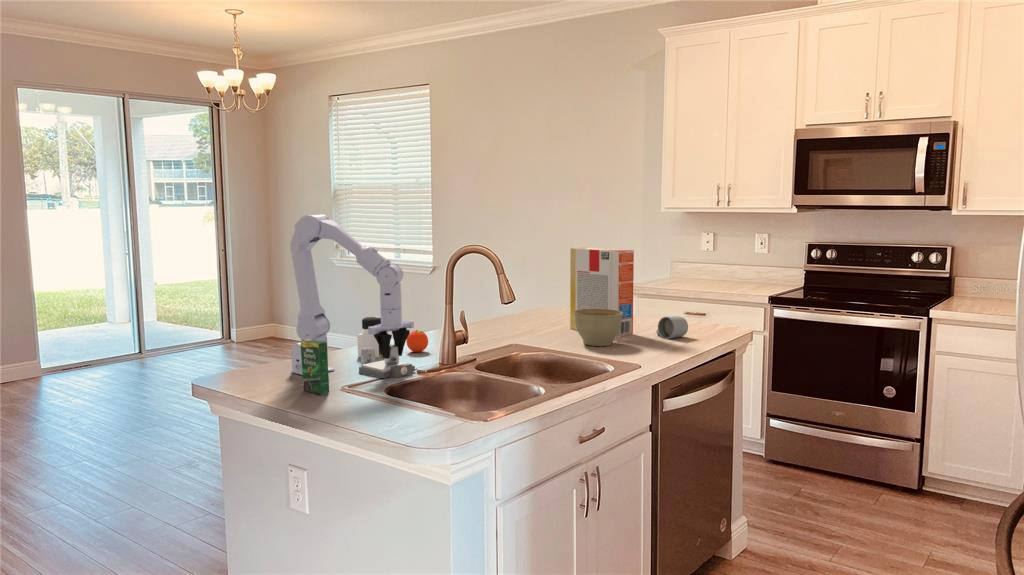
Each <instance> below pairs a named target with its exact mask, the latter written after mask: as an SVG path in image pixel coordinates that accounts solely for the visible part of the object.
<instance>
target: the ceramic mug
mask: <svg viewBox="0 0 1024 575" xmlns="http://www.w3.org/2000/svg"><path fill="white" fill-rule="evenodd" d="M688 330H689V324H688V322H687V320H686V318H684V317H682V316H678V315H677V316H668V315H667V316H662V318H660V319H659V321H658V324H657V329H656V331H655V332H656V334H657V336H660V337H661V338H662V339H665V340H669V339H670V340H671V339H677V338H681V337H683V336H685V335H686V334H687V333H688Z"/></svg>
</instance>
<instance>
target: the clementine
mask: <svg viewBox="0 0 1024 575" xmlns="http://www.w3.org/2000/svg"><path fill="white" fill-rule="evenodd" d="M426 333H427V334H429V332H428V331H426V330H420V329H419V330H418V329H416V330H413V331H411V332H410V334H409V335H408V337H407V339H406V342H405V343H406V346H407V348H408V349H409V350H410V351H412V352H413V353H421V352H423V351H425V350H426V349H427V347H428V345H429V337H428V335H427V334H426Z"/></svg>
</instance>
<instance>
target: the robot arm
mask: <svg viewBox="0 0 1024 575" xmlns="http://www.w3.org/2000/svg"><path fill="white" fill-rule="evenodd" d="M322 239H325V240H332V241H334V242H335V243H337V245H339V246H341V247H343V248H344V249H345V250H347V251H348V252H350V253H351V254H352V255H354V256H355V259H356V263H357V264H358V265H359V266H361V268H363V269H364V270H365V271H367V272H368V273H369V274H371V275H372V276H373V277H375V278H376V281H377V283H378V284H379V288H380V289H379V301H380V307H379V308H380V318H381V324H379V325H375V326H372V327H368V334H371V335H374V337H375V339H376V340H377V342H378V344H379V347H380V350H381V353H382V357H381V358H382V359H384V358H386V359H388V358H389V356H390V344H391V340H392V337H393V344H396V345H398V348H399V357H402V355H403V351H404V348H405V344H406V343H407V342H406V341H407V337H408V335H409V334H410V333H411V332H410V329H414V327H415V323H414V322H415V321H414V320H403V318H402V291H401V290H402V289H401V287H402V285H401V282H402V280H403V278H404V272H403V269H402V268H401V267H400V266H399V264H397V263H392V260H391V259H389V258H388V259H387V258H386V257H384V256H382V255H381V253H379V252H378V251H379V249H377V248H376V247H371V246H363V245H362V244H361V243H359V242H358V241H357V240H356V239H355V238H354V237H353V236H352V235H350V234H349V233H348V232H347V231H346V230H345V229H344V228H342V227H341V226H339V224H338V223H337V222H336V221H334V220H333V219H330V218H329V216H327V215H326V214H320V213H319V214H314V215H313V214H312V215H311V214H305V215H303V216H301V217H300V218H299V219H298V221H296V223H295V224H294V231H293V236H292V238H291V241H290V244H289V247H290V252H291V259H292V265H293V270H294V276H295V283H296V288H297V294H298V300H299V306H300V308H299V311H298V313H297V317H296V318H297V325H296V330H295V331H296V335H297V337H298V338H299V339H300V341H302V340H307V339H310V340H316V341H324V342H327V343H328V337H327V336H328V335H327V334H328V333H329V331H330V329H331V322H330V320H329V318H328V317H327V314H326V311H325V309H324V307H323V306H322V305H321V302H320V297H319V289H318V286H317V279H316V274H315V266H314V260H313V259H314V258H313V254H312V249H313V248H314V247H315V245H316V244H317V243H318V242H319V241H320V240H322ZM389 332H391V334H390V333H389ZM300 341H299V342H297V343H294V344H293V345H292V347H291V370H290V373H294V374H297V375H301V376H303V375H302V359H301V344H300ZM328 353H329V352H328V347H327V356H328ZM328 357H329V356H328ZM333 371H336V370H335V367H334V368H333V367H330V366H328V372H333Z"/></svg>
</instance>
